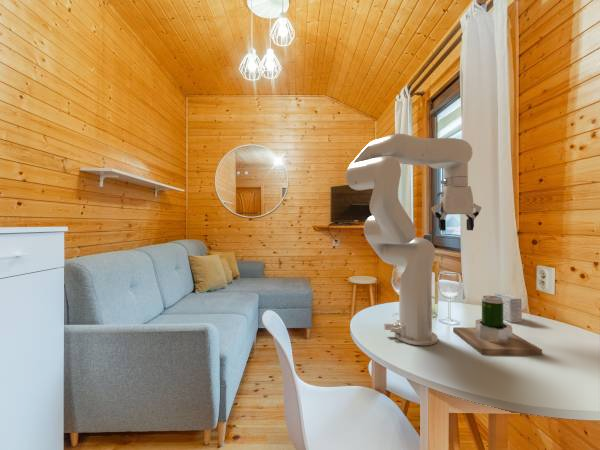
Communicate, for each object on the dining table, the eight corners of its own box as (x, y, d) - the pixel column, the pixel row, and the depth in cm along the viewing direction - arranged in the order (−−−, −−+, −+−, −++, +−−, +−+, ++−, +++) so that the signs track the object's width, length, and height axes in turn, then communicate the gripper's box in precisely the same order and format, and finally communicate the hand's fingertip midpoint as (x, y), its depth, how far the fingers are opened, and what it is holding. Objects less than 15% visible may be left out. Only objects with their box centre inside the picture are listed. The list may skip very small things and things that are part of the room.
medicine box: (522, 322, 102) (522, 298, 102) (510, 323, 102) (510, 299, 102) (505, 315, 110) (505, 293, 110) (494, 315, 110) (494, 293, 110)
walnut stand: (481, 354, 78) (481, 348, 78) (453, 331, 94) (453, 327, 94) (542, 355, 78) (542, 349, 77) (503, 332, 93) (503, 327, 93)
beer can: (498, 342, 82) (498, 301, 82) (478, 336, 87) (478, 297, 87) (506, 338, 85) (506, 298, 85) (486, 332, 90) (486, 294, 90)
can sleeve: (486, 343, 82) (486, 329, 82) (469, 331, 91) (469, 319, 91) (519, 343, 81) (519, 330, 81) (499, 331, 90) (499, 319, 90)
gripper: (436, 182, 100) (436, 230, 100) (486, 181, 99) (486, 230, 99) (427, 185, 108) (427, 230, 108) (474, 184, 107) (474, 229, 107)
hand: (456, 230), depth 104 cm, fingers open, 9 cm apart
